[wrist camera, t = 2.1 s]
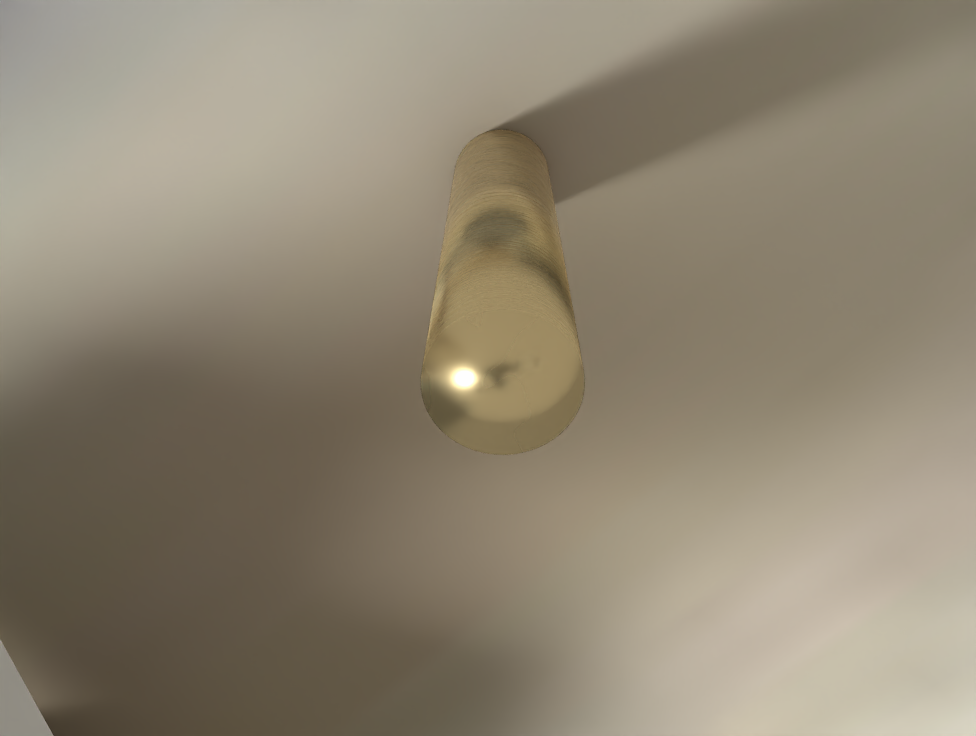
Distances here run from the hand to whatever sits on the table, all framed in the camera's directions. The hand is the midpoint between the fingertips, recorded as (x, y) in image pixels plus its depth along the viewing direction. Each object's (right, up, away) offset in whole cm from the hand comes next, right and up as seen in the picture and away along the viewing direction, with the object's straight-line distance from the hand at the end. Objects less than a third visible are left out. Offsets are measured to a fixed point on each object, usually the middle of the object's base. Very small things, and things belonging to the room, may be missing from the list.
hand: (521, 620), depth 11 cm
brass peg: (0, +9, +18) cm, 20 cm away
